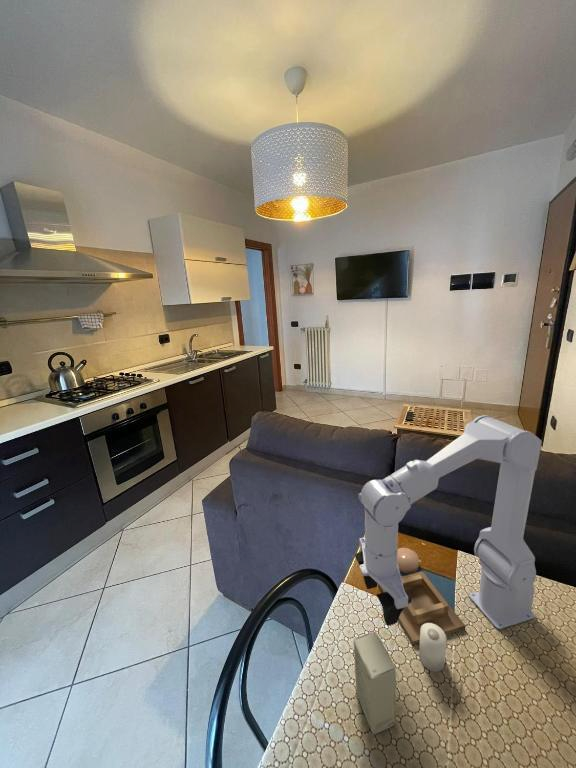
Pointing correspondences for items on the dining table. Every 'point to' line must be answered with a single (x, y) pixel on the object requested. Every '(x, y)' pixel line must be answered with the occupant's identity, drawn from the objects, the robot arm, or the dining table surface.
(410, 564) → the tan oval ball
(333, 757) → the dining table surface
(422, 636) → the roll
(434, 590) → the caddy
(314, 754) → the dining table surface
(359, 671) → the skincare box
